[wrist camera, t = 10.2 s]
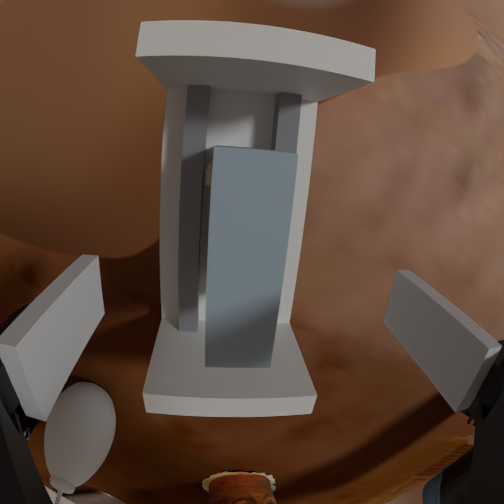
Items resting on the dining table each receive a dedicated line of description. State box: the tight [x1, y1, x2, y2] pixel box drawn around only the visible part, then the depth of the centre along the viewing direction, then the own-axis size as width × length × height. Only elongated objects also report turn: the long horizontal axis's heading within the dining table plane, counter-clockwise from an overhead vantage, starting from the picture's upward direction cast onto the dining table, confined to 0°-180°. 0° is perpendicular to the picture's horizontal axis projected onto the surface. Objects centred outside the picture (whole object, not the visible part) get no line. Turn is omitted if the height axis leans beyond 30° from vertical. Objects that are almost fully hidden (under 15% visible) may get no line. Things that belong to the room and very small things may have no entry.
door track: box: [136, 20, 376, 417], centre depth 22 cm, size 24×12×12 cm, turn 175°
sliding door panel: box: [205, 145, 298, 368], centre depth 20 cm, size 11×4×12 cm, turn 175°
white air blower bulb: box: [44, 382, 116, 504], centre depth 24 cm, size 8×8×18 cm
